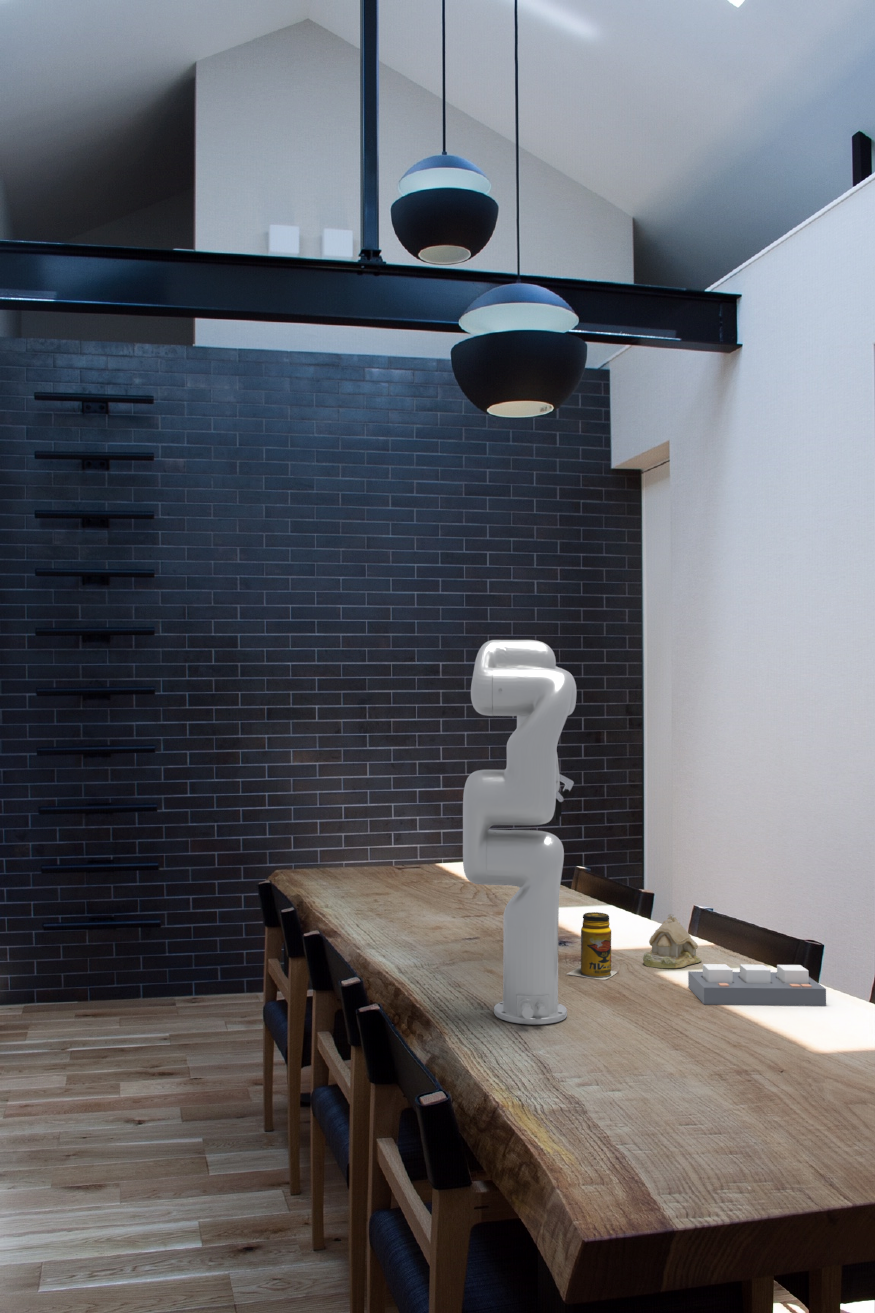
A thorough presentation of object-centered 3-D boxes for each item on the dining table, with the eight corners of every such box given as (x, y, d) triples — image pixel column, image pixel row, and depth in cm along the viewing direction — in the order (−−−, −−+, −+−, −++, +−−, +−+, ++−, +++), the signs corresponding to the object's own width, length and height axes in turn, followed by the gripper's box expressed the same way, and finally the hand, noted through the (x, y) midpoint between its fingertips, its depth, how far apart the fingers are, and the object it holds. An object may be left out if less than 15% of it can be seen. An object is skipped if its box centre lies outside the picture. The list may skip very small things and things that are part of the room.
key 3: (732, 989, 194) (732, 970, 194) (708, 989, 194) (708, 969, 194) (726, 983, 198) (726, 964, 199) (702, 983, 198) (702, 964, 199)
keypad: (826, 1005, 190) (825, 987, 190) (704, 1004, 190) (704, 986, 190) (803, 988, 202) (803, 971, 202) (688, 987, 202) (688, 970, 202)
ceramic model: (656, 953, 232) (656, 907, 232) (706, 959, 226) (706, 912, 227) (634, 966, 220) (634, 917, 220) (687, 973, 214) (686, 923, 215)
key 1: (808, 990, 194) (808, 970, 194) (784, 989, 194) (784, 970, 194) (800, 984, 198) (800, 965, 199) (777, 983, 198) (776, 964, 199)
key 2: (770, 989, 194) (770, 970, 194) (746, 989, 194) (746, 970, 194) (763, 983, 198) (763, 964, 199) (739, 983, 198) (739, 964, 199)
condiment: (605, 980, 207) (605, 918, 208) (565, 975, 211) (565, 914, 212) (618, 973, 213) (618, 913, 214) (579, 967, 217) (579, 908, 218)
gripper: (499, 740, 221) (498, 822, 220) (578, 740, 224) (578, 821, 223) (491, 739, 228) (490, 819, 227) (567, 740, 231) (567, 818, 230)
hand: (533, 820), depth 225 cm, fingers open, 9 cm apart
